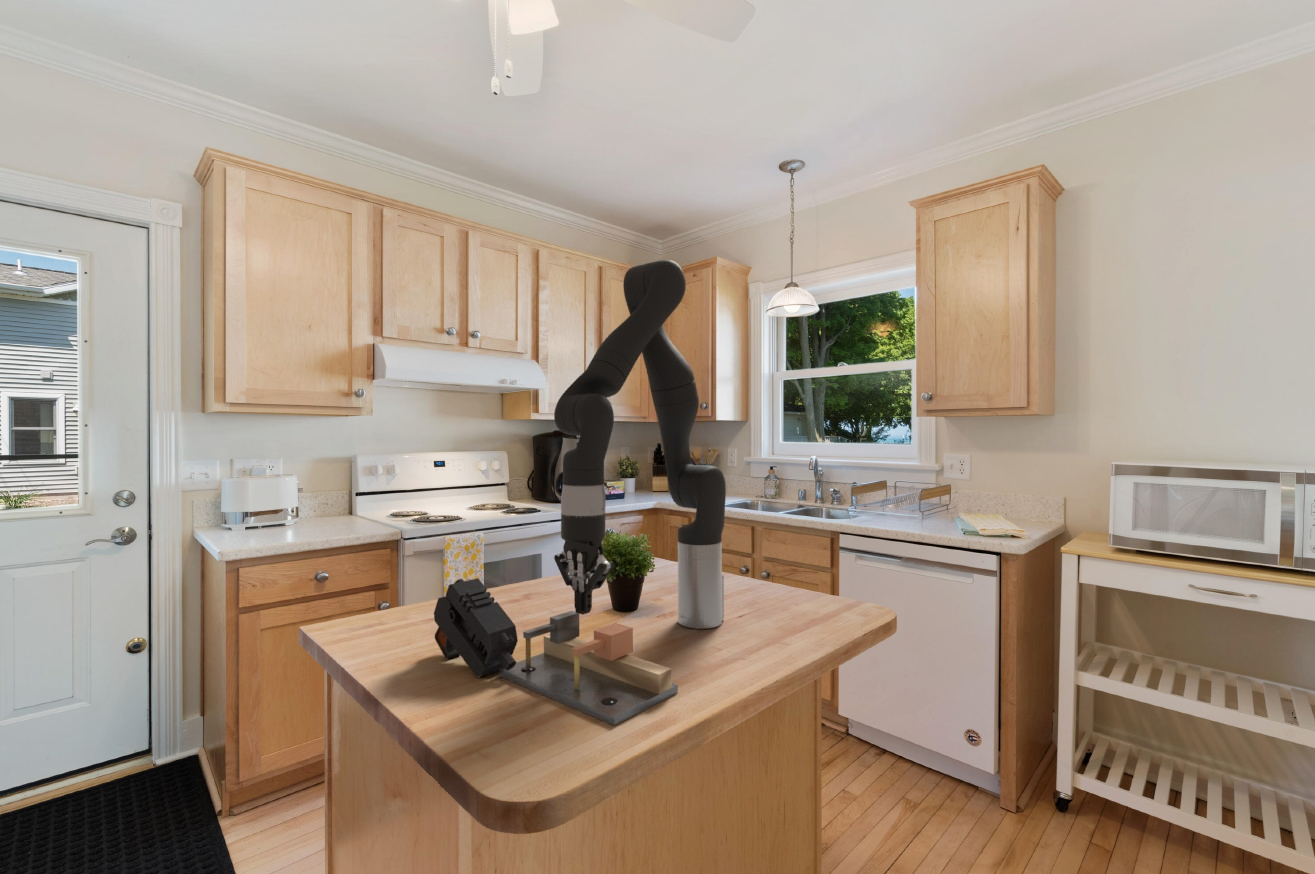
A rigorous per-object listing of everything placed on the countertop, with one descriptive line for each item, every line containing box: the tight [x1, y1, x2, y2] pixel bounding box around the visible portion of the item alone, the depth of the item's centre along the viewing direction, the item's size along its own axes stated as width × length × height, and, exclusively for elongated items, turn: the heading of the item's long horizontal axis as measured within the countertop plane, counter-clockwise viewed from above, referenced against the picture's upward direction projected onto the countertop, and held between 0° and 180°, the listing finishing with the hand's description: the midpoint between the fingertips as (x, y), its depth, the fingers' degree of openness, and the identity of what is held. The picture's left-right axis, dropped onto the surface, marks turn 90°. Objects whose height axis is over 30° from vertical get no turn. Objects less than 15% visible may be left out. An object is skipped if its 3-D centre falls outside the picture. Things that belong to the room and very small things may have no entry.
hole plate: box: [498, 652, 679, 727], centre depth 100 cm, size 14×27×1 cm, turn 49°
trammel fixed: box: [522, 610, 673, 694], centre depth 101 cm, size 11×27×7 cm, turn 49°
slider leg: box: [572, 622, 634, 688], centre depth 99 cm, size 11×4×7 cm, turn 139°
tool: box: [433, 578, 519, 678], centre depth 108 cm, size 6×19×15 cm, turn 51°
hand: (582, 612), depth 105 cm, fingers closed
